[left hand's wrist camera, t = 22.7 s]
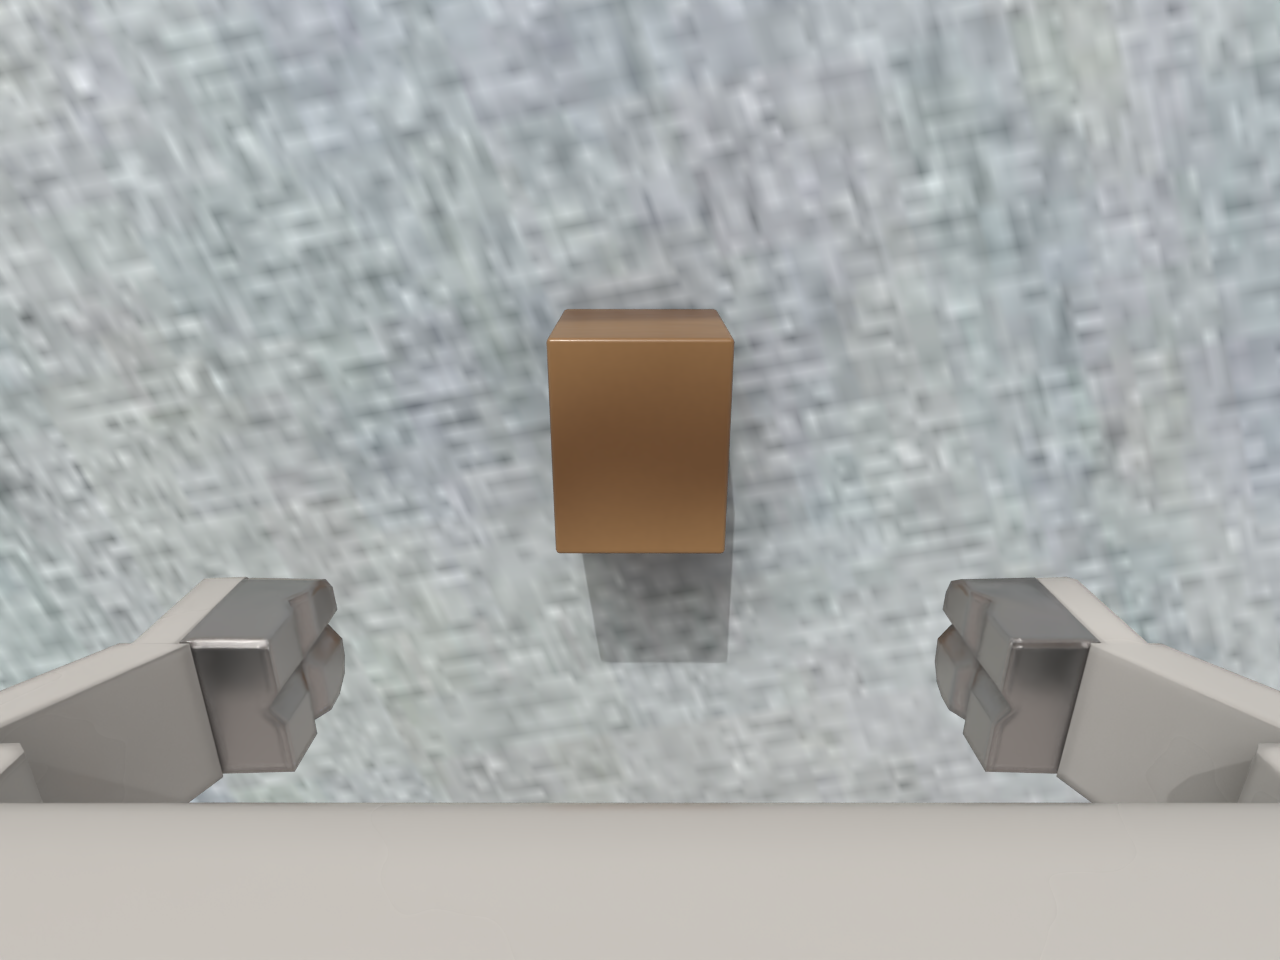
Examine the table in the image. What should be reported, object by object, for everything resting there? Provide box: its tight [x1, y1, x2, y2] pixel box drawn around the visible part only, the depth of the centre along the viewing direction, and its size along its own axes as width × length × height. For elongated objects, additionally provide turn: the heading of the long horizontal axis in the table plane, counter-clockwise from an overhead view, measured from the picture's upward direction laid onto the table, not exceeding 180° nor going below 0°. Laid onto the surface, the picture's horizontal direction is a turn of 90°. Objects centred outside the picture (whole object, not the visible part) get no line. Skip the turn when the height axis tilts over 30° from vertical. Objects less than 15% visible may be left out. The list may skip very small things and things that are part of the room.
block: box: [547, 309, 734, 553], centre depth 19 cm, size 5×4×4 cm
